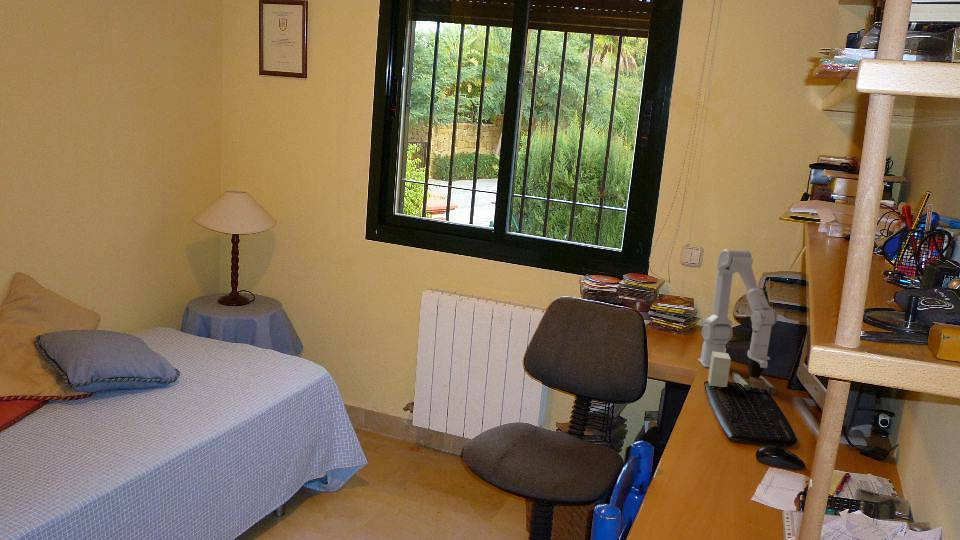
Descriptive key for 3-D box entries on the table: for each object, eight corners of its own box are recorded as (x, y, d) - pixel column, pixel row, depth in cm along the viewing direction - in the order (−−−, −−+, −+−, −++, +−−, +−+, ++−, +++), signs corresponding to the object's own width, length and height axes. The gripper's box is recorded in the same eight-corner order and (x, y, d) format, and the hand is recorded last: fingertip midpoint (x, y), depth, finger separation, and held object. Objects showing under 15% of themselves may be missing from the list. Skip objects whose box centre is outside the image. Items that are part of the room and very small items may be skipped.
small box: (726, 389, 265) (731, 359, 264) (709, 387, 266) (713, 356, 265) (724, 382, 273) (728, 353, 271) (707, 380, 274) (712, 350, 272)
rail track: (731, 377, 280) (732, 372, 279) (760, 380, 280) (760, 375, 279) (745, 391, 265) (746, 386, 265) (775, 394, 265) (776, 388, 265)
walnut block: (748, 386, 271) (749, 376, 270) (759, 387, 271) (761, 377, 271) (752, 390, 267) (754, 380, 266) (764, 391, 267) (765, 381, 267)
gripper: (779, 350, 263) (772, 390, 265) (764, 339, 277) (758, 376, 279) (757, 348, 263) (751, 388, 265) (743, 337, 277) (737, 374, 279)
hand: (753, 382), depth 272 cm, fingers closed
